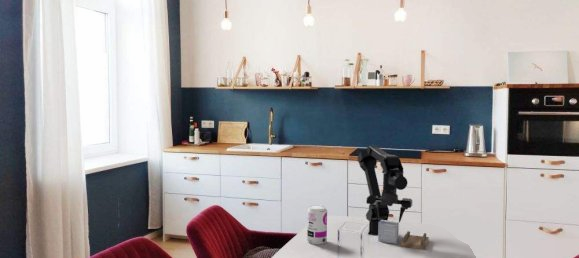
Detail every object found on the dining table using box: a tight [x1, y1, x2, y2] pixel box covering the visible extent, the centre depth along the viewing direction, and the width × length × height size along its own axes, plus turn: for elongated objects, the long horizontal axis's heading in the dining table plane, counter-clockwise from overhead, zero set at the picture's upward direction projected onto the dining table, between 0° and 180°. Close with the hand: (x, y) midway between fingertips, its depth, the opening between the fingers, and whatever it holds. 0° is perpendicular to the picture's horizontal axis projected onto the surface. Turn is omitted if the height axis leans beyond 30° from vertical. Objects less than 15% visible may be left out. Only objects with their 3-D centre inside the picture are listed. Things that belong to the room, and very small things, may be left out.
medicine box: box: [377, 220, 400, 245], centre depth 207 cm, size 8×4×9 cm, turn 65°
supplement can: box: [306, 204, 328, 245], centre depth 205 cm, size 8×8×15 cm
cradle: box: [400, 230, 430, 250], centre depth 205 cm, size 10×13×3 cm
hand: (388, 220), depth 207 cm, fingers open, 9 cm apart
